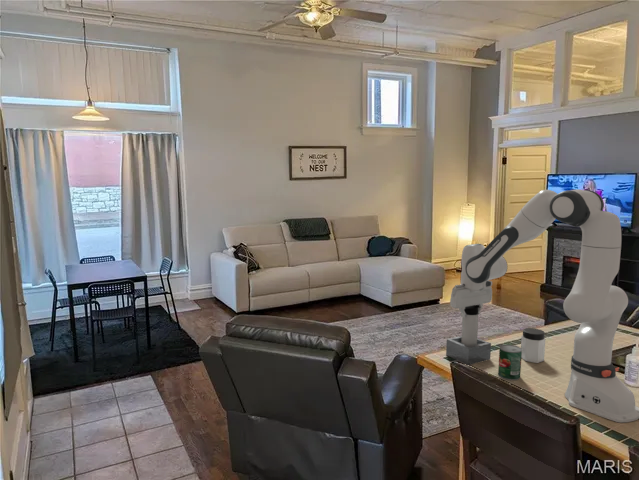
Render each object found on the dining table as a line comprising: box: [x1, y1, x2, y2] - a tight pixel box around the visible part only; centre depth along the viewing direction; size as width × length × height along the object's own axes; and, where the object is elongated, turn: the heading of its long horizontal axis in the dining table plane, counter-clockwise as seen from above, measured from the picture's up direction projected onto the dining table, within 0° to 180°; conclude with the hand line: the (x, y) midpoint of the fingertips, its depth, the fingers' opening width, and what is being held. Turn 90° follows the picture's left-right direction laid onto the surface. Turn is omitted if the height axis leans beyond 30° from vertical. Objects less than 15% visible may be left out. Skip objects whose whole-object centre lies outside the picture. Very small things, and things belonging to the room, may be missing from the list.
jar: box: [520, 327, 546, 364], centre depth 193 cm, size 9×8×12 cm
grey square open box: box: [445, 335, 492, 366], centre depth 195 cm, size 12×12×7 cm
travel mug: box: [461, 305, 480, 347], centre depth 194 cm, size 6×7×20 cm
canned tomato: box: [497, 344, 522, 381], centre depth 177 cm, size 8×8×11 cm
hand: (470, 315), depth 193 cm, fingers closed on travel mug, 6 cm apart
